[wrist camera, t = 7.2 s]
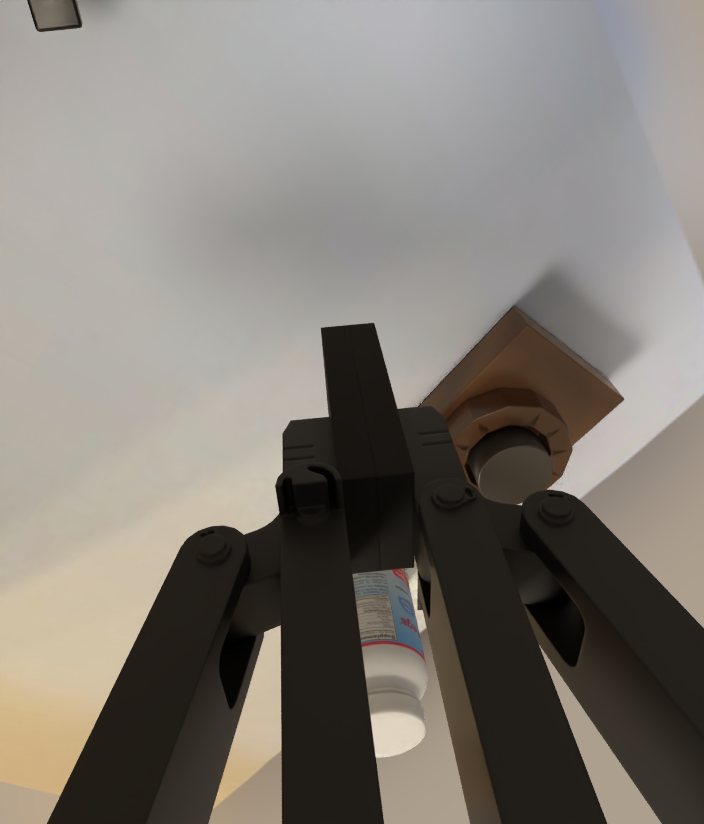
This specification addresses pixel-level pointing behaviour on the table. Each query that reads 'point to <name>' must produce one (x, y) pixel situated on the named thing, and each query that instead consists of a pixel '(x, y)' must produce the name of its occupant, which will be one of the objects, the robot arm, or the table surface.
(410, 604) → the pill bottle
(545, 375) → the block
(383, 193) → the table surface
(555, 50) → the table surface
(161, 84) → the table surface
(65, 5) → the red lever
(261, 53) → the table surface
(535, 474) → the bell button
